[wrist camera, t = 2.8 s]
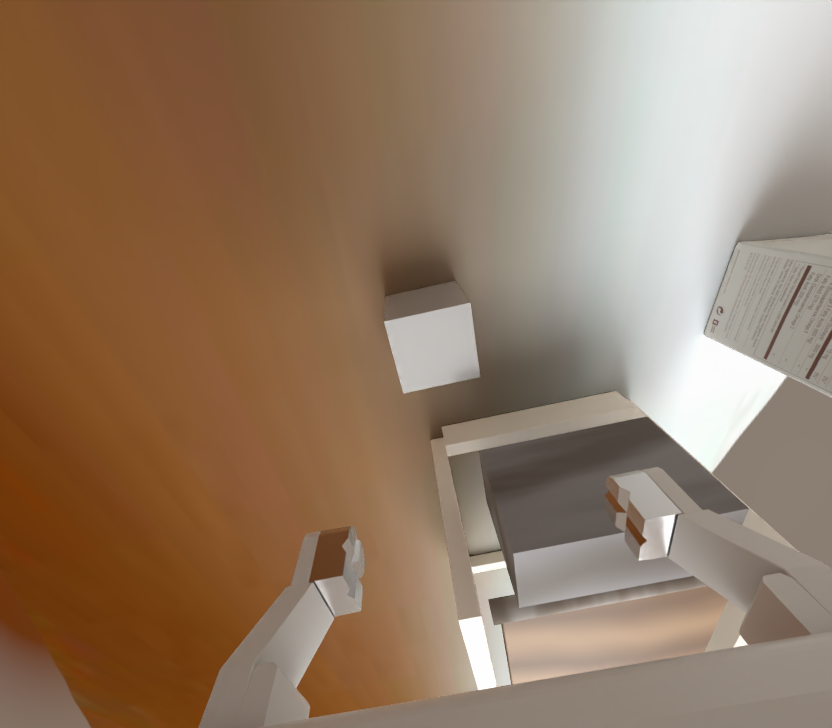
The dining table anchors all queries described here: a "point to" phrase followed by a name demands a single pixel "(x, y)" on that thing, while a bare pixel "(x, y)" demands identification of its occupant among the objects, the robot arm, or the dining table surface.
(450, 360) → the light grey cube
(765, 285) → the supplement box
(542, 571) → the trapdoor
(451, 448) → the frame
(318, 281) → the dining table surface
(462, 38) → the dining table surface
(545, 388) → the dining table surface
